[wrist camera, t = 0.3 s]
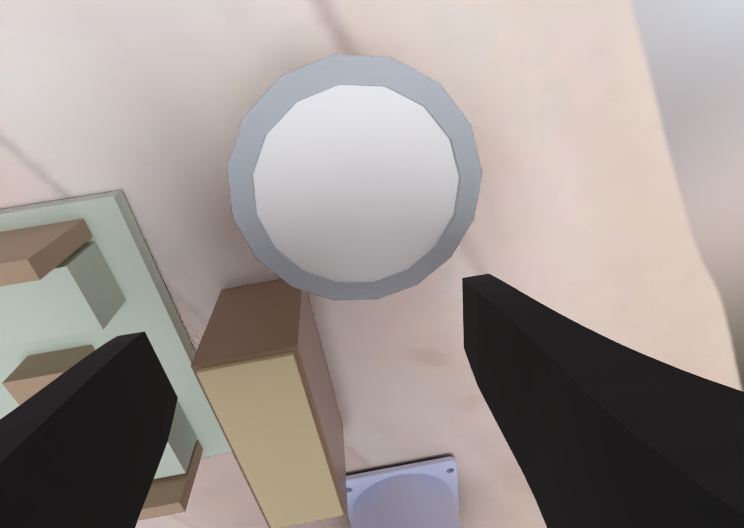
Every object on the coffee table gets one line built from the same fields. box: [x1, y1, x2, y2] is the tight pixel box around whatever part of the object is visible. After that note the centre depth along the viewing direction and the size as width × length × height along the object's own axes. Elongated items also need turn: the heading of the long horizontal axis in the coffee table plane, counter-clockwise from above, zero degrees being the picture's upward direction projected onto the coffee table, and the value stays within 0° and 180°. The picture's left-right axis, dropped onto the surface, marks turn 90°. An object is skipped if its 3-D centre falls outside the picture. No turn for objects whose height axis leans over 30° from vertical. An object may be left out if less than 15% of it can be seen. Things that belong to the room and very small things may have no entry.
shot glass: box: [227, 54, 482, 300], centre depth 14 cm, size 7×7×7 cm
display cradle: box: [0, 190, 232, 520], centre depth 19 cm, size 16×11×4 cm
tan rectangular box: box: [191, 279, 348, 528], centre depth 20 cm, size 11×4×6 cm, turn 8°
